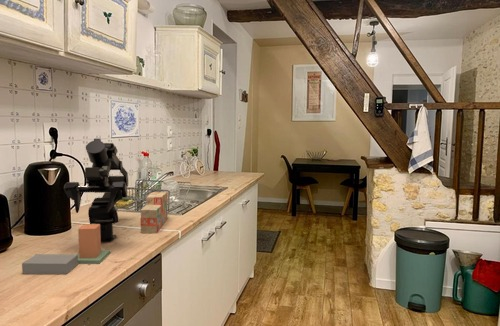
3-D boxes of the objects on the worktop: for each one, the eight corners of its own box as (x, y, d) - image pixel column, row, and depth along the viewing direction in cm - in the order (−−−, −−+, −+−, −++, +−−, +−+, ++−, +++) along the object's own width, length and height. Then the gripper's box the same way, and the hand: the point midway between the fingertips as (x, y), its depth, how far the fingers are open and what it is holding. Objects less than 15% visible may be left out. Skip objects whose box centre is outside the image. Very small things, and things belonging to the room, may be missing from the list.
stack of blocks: (157, 233, 136) (156, 202, 135) (140, 233, 136) (139, 201, 135) (167, 219, 158) (167, 191, 156) (153, 218, 157) (153, 191, 156)
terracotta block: (84, 252, 113) (83, 224, 112) (101, 251, 113) (100, 223, 112) (79, 258, 108) (78, 229, 107) (96, 257, 108) (96, 228, 107)
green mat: (82, 252, 115) (82, 249, 115) (110, 252, 115) (110, 249, 115) (68, 263, 106) (68, 260, 106) (99, 263, 106) (99, 260, 106)
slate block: (36, 264, 105) (36, 254, 105) (78, 264, 106) (77, 254, 105) (22, 273, 98) (21, 263, 98) (66, 274, 99) (66, 263, 98)
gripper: (64, 157, 115) (52, 198, 105) (125, 157, 118) (119, 197, 108) (73, 178, 123) (63, 217, 114) (129, 177, 126) (124, 216, 117)
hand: (92, 212), depth 113 cm, fingers open, 9 cm apart
